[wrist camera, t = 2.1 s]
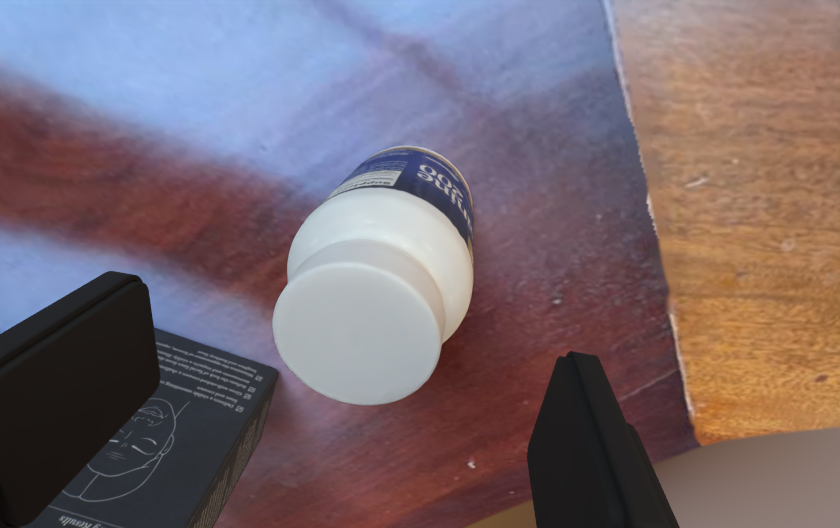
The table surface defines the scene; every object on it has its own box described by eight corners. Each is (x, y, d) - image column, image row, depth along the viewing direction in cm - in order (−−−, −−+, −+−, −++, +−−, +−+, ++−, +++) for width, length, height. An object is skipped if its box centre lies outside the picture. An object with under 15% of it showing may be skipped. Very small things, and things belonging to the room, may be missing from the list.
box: (133, 394, 26) (-65, 595, 16) (139, 317, 23) (-92, 503, 14) (264, 438, 26) (144, 660, 17) (283, 367, 24) (155, 581, 14)
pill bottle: (491, 240, 19) (506, 400, 10) (380, 278, 21) (312, 447, 12) (444, 120, 17) (415, 194, 9) (326, 171, 19) (196, 278, 10)
